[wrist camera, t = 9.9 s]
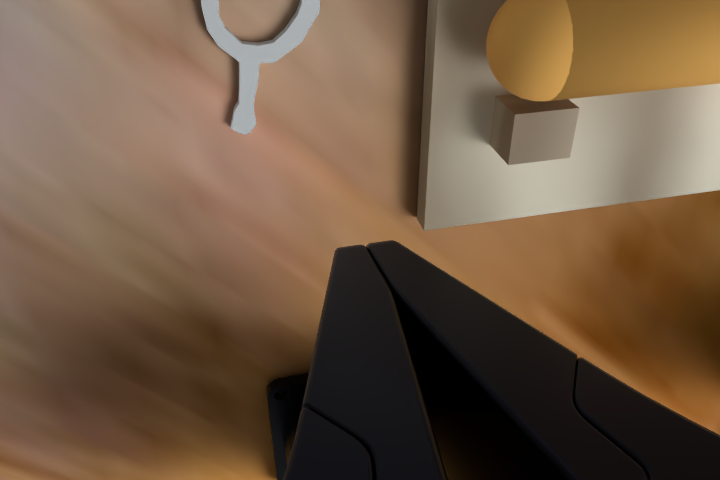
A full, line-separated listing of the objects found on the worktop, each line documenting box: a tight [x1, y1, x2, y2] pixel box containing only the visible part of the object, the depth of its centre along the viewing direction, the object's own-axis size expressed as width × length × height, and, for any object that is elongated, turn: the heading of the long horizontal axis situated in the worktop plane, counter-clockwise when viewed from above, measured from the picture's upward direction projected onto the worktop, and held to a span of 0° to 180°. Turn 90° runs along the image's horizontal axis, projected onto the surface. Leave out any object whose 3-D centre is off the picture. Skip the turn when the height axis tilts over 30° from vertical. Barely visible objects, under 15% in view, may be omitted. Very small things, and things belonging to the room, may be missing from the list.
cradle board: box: [417, 0, 720, 231], centre depth 20 cm, size 17×13×2 cm
